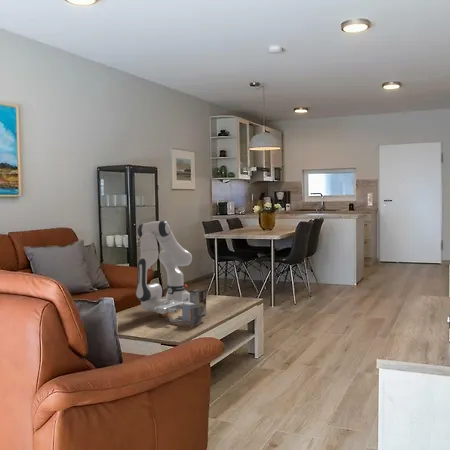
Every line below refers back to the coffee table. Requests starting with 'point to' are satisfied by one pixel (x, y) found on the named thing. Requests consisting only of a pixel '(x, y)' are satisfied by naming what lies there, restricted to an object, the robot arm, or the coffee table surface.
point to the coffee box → (199, 299)
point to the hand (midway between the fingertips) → (180, 309)
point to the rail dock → (178, 321)
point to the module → (186, 311)
